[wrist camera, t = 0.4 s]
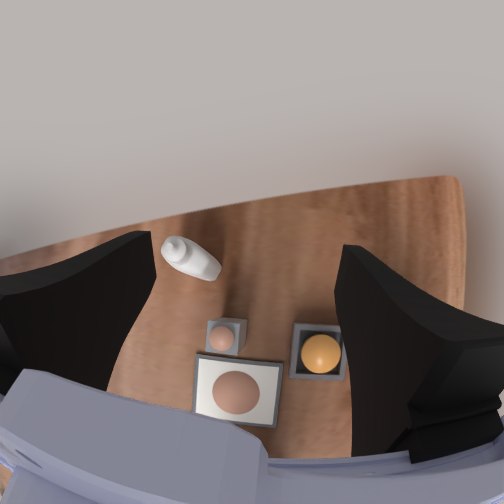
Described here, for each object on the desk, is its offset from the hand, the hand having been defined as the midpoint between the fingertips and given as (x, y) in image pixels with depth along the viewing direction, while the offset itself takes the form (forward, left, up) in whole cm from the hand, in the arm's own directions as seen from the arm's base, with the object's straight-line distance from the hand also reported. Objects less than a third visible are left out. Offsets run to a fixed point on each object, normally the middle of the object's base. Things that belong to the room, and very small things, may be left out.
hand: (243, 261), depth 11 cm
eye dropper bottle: (+3, +9, -27) cm, 28 cm away
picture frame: (-13, +3, -27) cm, 30 cm away
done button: (-7, -7, -25) cm, 26 cm away
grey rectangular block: (-5, +4, -27) cm, 27 cm away
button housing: (-7, -7, -27) cm, 28 cm away
